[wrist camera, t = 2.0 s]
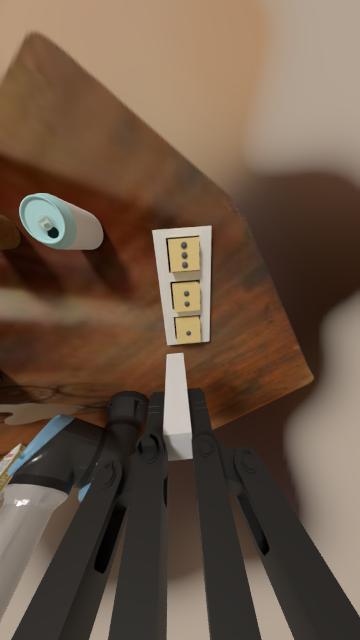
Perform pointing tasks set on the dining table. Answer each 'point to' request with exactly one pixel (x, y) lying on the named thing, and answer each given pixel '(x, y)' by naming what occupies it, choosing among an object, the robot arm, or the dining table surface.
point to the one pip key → (188, 329)
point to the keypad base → (184, 278)
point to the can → (60, 223)
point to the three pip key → (184, 254)
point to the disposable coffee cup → (8, 234)
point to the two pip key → (186, 296)
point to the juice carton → (8, 466)
